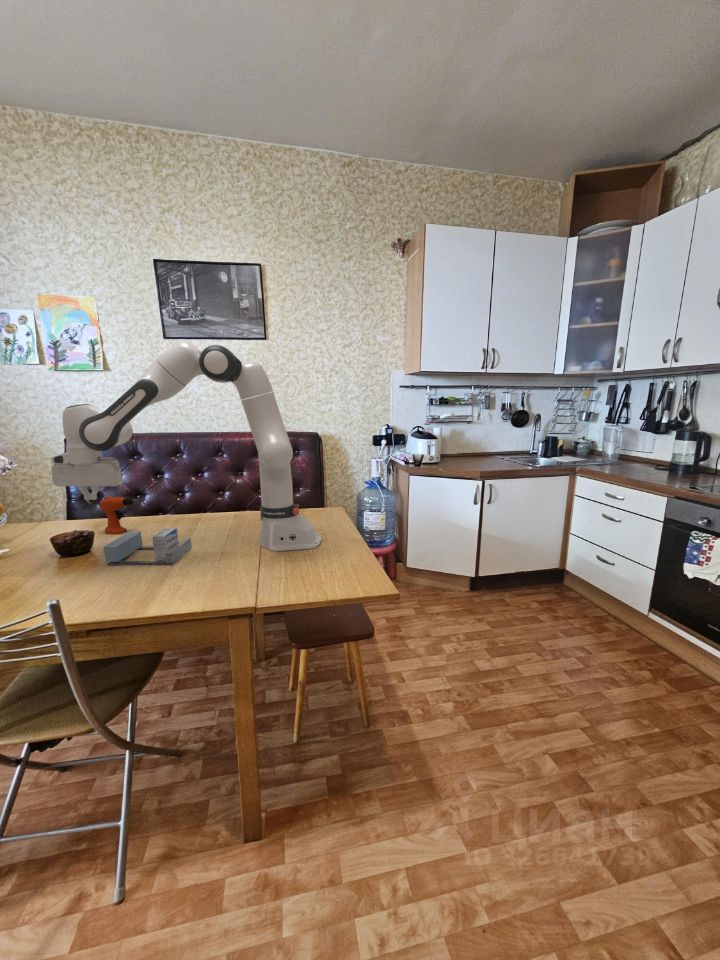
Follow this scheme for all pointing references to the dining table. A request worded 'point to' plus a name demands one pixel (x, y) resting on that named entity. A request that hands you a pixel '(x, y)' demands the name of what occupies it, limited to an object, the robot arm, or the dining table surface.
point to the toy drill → (115, 512)
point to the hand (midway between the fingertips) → (91, 499)
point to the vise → (171, 555)
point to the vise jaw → (122, 546)
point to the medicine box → (164, 542)
